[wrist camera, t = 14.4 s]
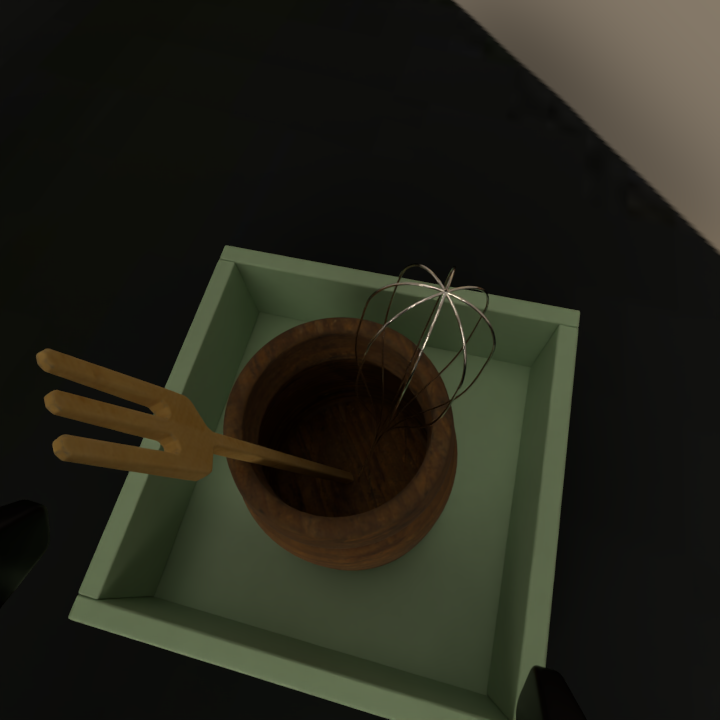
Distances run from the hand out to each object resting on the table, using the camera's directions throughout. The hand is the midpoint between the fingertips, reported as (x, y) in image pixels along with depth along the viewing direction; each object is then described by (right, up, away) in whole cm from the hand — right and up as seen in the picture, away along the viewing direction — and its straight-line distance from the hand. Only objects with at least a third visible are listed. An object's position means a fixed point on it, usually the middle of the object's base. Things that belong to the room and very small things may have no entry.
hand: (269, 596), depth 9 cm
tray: (+1, 0, +9) cm, 9 cm away
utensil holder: (+1, 0, +9) cm, 9 cm away
